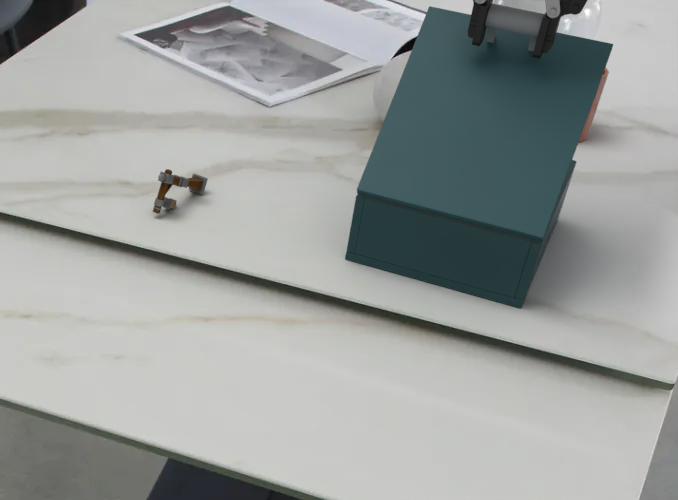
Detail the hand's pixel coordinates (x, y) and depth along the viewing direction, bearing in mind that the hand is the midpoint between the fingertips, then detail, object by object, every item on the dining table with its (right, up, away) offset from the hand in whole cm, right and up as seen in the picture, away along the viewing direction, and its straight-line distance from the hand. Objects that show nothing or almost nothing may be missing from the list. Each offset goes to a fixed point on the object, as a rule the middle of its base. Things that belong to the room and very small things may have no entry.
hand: (507, 48), depth 96 cm
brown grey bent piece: (-31, -11, +13) cm, 35 cm away
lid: (-2, -6, +1) cm, 7 cm away
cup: (+17, +3, +33) cm, 37 cm away
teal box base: (-2, -15, +11) cm, 19 cm away
